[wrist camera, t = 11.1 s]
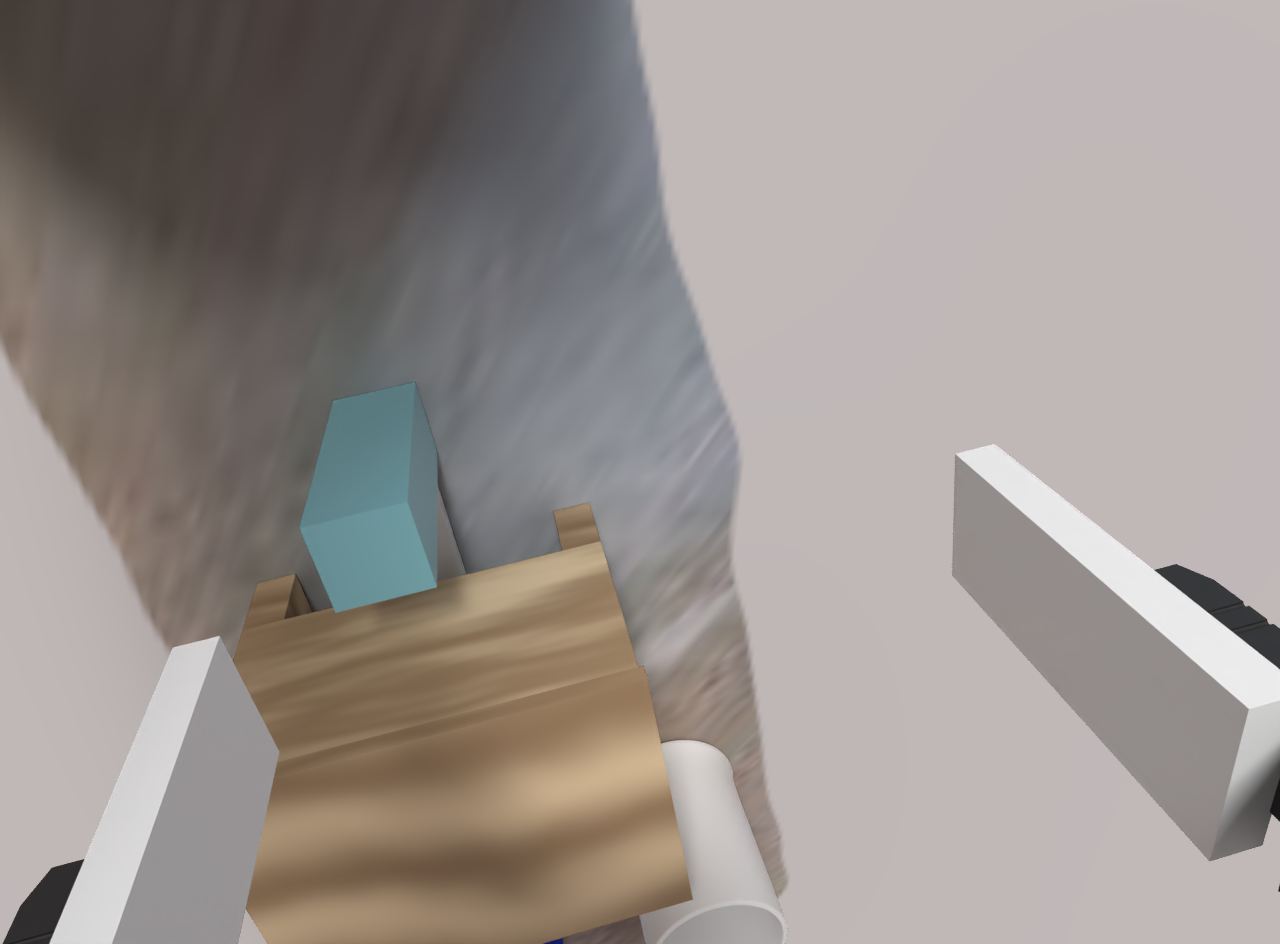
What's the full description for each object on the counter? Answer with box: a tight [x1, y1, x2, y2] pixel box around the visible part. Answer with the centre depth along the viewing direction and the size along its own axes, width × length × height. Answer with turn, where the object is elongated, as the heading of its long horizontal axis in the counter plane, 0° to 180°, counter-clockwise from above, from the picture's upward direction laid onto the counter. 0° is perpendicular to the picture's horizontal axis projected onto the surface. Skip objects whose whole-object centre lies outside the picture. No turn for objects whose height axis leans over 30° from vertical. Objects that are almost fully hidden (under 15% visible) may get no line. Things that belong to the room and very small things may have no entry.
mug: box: [639, 740, 788, 944], centre depth 55 cm, size 12×8×12 cm
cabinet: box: [233, 503, 693, 944], centre depth 44 cm, size 14×18×15 cm
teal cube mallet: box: [299, 382, 466, 613], centre depth 44 cm, size 26×4×12 cm, turn 9°
